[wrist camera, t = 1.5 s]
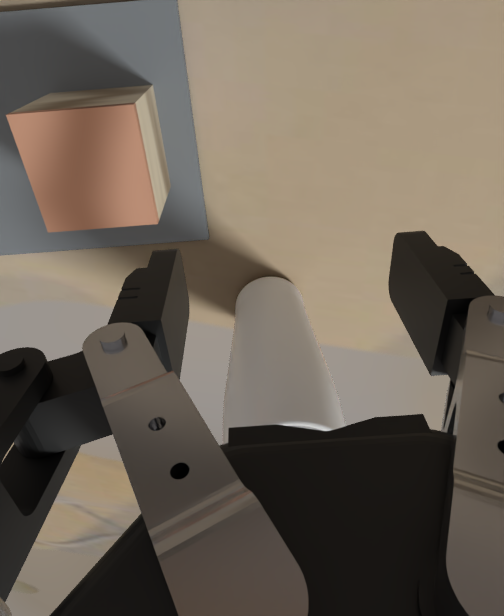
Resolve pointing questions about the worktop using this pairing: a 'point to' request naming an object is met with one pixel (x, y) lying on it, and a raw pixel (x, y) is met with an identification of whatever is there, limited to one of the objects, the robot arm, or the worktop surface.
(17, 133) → the birch cube
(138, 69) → the slate mat
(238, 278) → the worktop surface
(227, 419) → the drinking glass
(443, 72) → the worktop surface
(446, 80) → the worktop surface
